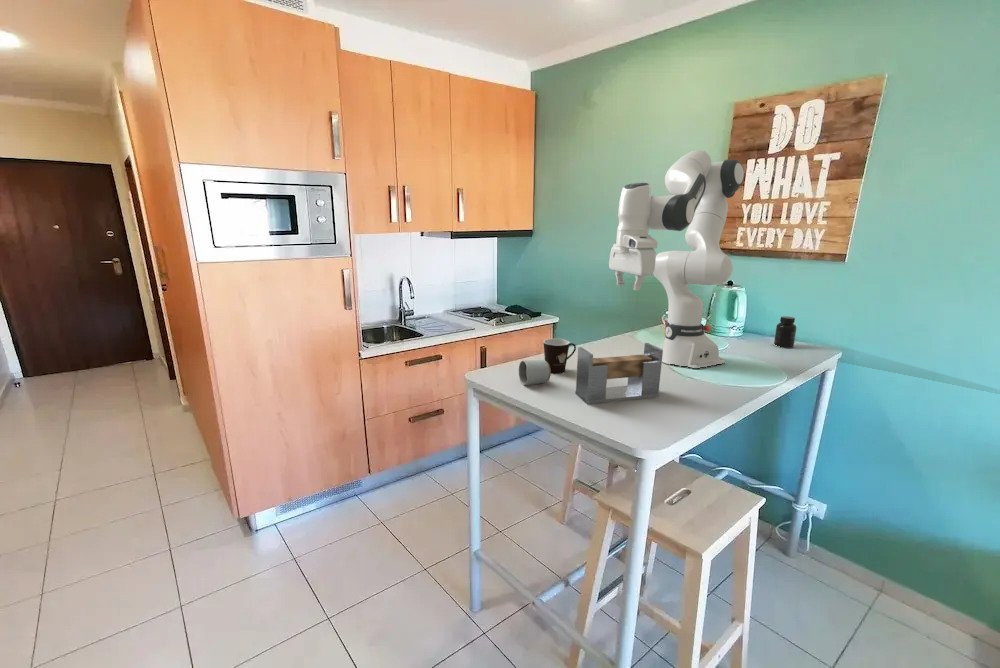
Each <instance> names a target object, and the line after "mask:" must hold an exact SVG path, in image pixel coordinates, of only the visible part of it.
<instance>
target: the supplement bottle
mask: <svg viewBox="0 0 1000 668" xmlns="http://www.w3.org/2000/svg"><path fill="white" fill-rule="evenodd" d="M795 320H796V318H795V317H793V316H786V315H785V316H780V318H779V322H778V323H777V324H776V326H775V327H776V328H775V333H774V334H775V335H774V340H773V345H774V344H775V345H777V346H780V347H779V348H781V347H792V348H794V346H795V341H796V340H795V339H796V333H797V325H796V324H795V322H796V321H795ZM775 345H774V346H775ZM777 346H776V347H777Z"/></svg>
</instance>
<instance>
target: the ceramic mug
mask: <svg viewBox="0 0 1000 668" xmlns="http://www.w3.org/2000/svg"><path fill="white" fill-rule="evenodd" d="M551 374H552V373H551V370H550V366H549V363H548V362H547V361H545V359H522V360H521V361H520V362H519V365H518V377H519V381H520V383H521V385H523V386H531V385H537V384H545V383H548V381H550V378H551V376H552V375H551Z"/></svg>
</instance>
